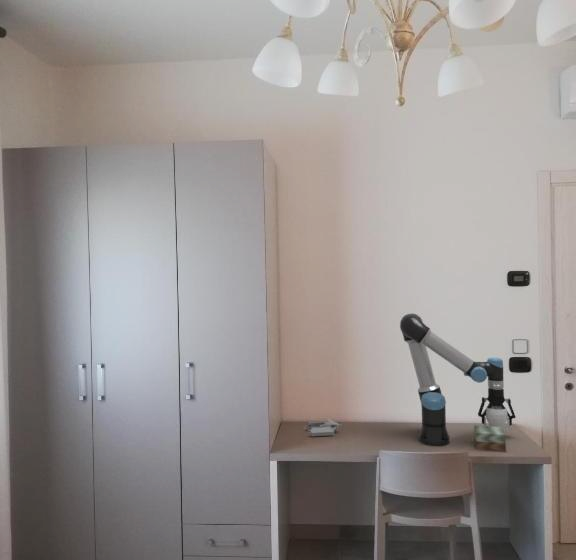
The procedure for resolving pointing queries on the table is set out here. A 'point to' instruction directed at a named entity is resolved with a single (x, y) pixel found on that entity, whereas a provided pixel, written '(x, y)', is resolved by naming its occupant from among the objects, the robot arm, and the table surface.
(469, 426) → the table surface
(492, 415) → the cup
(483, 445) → the tower base
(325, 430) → the spaceship toy
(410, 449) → the table surface
